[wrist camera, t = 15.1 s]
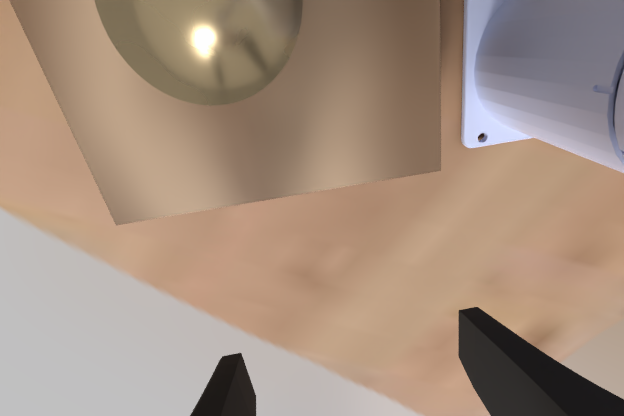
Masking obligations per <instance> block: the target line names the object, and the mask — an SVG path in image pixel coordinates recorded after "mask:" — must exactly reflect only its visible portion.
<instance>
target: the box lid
mask: <svg viewBox="0 0 624 416" xmlns="http://www.w3.org/2000/svg"><path fill="white" fill-rule="evenodd" d="M10 2H11V4H12V7H13V9H14V11H15V13H16V15H17V17H18V19H19V21H20V23H21V26H22V28H23V30H24V32H25V34H26V36H27V38H28V40H29V42H30V45H31V47H32V49H33V51H34V53H35V55H36V57H37V59H38V61H39V64H40V66H41V68H42V70H43V72H44V74H45V76H46V78H47V80H48V83H49V85H50V87H51V89H52V91H53V93H54V95H55V97H56V99H57V102H58V104H59V106H60V108H61V110H62V112H63V114H64V116H65V118H66V121H67V123H68V125H69V127H70V129H71V131H72V133H73V135H74V137H75V140H76V142H77V144H78V146H79V148H80V150H81V152H82V154H83V156H84V159H85V161H86V163H87V165H88V167H89V169H90V171H91V173H92V175H93V178H94V180H95V182H96V184H97V186H98V188H99V190H100V192H101V194H102V196H103V199H104V201H105V203H106V205H107V207H108V209H109V211H110V213H111V215H112V218H113V220H114V222H115V224H116V225H121V224H127V223H133V222H139V221H145V220H151V219H157V218H163V217H169V216H175V215H181V214H186V213H192V212H198V211H204V210H210V209H216V208H222V207H228V206H234V205H240V204H246V203H252V202H258V201H264V200H270V199H276V198H282V197H287V196H293V195H299V194H305V193H311V192H317V191H323V190H329V189H335V188H341V187H347V186H353V185H359V184H365V183H371V182H377V181H383V180H388V179H394V178H400V177H406V176H412V175H418V174H424V173H430V172H436V171H441V79H440V0H303V9H302V20H301V26H300V30H299V35H298V38H297V41H296V44H295V47H294V50H293V52H292V54H291V56H290V58H289V60H288V62H287V63H286V65H285V66H284V68H283V69H282V71H281V72H280V73H279V74H278V75H277V77H276V78H275V79H274V80H273V81H272V82H271V83H270V84H269V85H267V86H266V87H265V88H264V89H262V90H261V91H259V92H258V93H256V94H255V95H253V96H251V97H249V98H246V99H244V100H242V101H238V102H235V103H232V104H225V105H211V106H207V105H199V104H193V103H189V102H185V101H182V100H179V99H176V98H174V97H171V96H169V95H167V94H165V93H163V92H161V91H159V90H158V89H156V88H155V87H153V86H152V85H150V84H149V83H148V82H146V81H145V80H144V79H143V78H142V77H140V76H139V75H138V74H137V73H136V72H135V71H134V70H133V69H132V68H131V67H130V66H129V65H128V64H127V63H126V61H125V60H124V59H123V58H122V56H121V55H120V54H119V52H118V51H117V50H116V48H115V46H114V45H113V43H112V42H111V40H110V38H109V37H108V35H107V32H106V30H105V28H104V26H103V24H102V22H101V19H100V16H99V14H98V11H97V8H96V4H95V0H10Z"/></svg>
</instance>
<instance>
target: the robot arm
mask: <svg viewBox="0 0 624 416" xmlns="http://www.w3.org/2000/svg"><path fill="white" fill-rule="evenodd" d="M481 133H484V137H483V139H482V140H480V141H478V136H479V135H480V134H481ZM529 138H536V139H539V140H541V141H544V142H547V143H549V144H552V145H554V146H557V147H559V148H562V149H564V150H567V151H569V152H572V153H574V154H577V155H579V156H582V157H584V158H587V159H590V160H592V161H595V162H597V163H600V164H602V165H605V166H607V167H610V168H612V169H615V170H617V171H620V172H622V173H624V0H464V33H463V80H462V128H461V141H462V143H463V145H464V146H466V147H468V148H476V147H482V146H487V145H493V144H499V143H505V142H511V141H517V140H523V139H529ZM459 358H460V360H461V363H462V365H463V367H464V369H465V371H466V373H467V375H468V377H469V379H470V381H471V383H472V385H473V387H474V389H475V391H476V392H477V394H478V396H479V397H480V399H481V400H482V402H483V404H484V405H485V407H486V408H487V410H488V412H489V413H490V415H491V416H624V400H623V399H622V398H620V397H618V396H616V395H614V394H612V393H611V392H609V391H607V390H605V389H603V388H601V387H599V386H598V385H596V384H594V383H592V382H591V381H589V380H587V379H585V378H584V377H582V376H580V375H578V374H577V373H575V372H573V371H572V370H570V369H569V368H567V367H565V366H564V365H562V364H560V363H559V362H557V361H556V360H554V359H553V358H551V357H549V356H548V355H546V354H545V353H543V352H542V351H540V350H539V349H537V348H536V347H534V346H533V345H531V344H530V343H528V342H527V341H525V340H524V339H522V338H521V337H519V336H518V335H517V334H515V333H514V332H512V331H511V330H509V329H508V328H506V327H505V326H504V325H502V324H501V323H499V322H498V321H497V320H495V319H494V318H492V317H491V316H489V315H488V314H487V313H485V312H484V311H482V310H481V309H480V308H478V307H474V308H469V309H464V310H459ZM190 416H256V395H255V392H254V389H253V386H252V383H251V380H250V377H249V375H248V372H247V369H246V366H245V363H244V360H243V357H242V354H241V353H238V354H233V355H228V356H223V357H222V358H221V359H220V361H219V363H218V365H217V367H216V369H215V371H214V373H213V375H212V377H211V379H210V381H209V382H208V384H207V387H206V388H205V390H204V392H203V394H202V396H201V397H200V399H199V401H198V403H197V405H196V406H195V408H194V410H193V412H192V414H191V415H190Z"/></svg>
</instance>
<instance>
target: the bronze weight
mask: <svg viewBox="0 0 624 416" xmlns="http://www.w3.org/2000/svg"><path fill="white" fill-rule="evenodd" d="M95 4H96V8H97V11H98V14H99V16H100V19H101V22H102V24H103V26H104V28H105V30H106V32H107V35H108V37H109V38H110V40H111V42H112V43H113V45H114V46H115V48H116V50H117V51H118V52H119V54H120V55H121V56H122V58H123V59H124V60H125V61H126V63H127V64H128V65H129V66H130V67H131V68H132V69H133V70H134V71H135V72H136V73H137V74H138V75H139V76H140V77H142V78H143V79H144V80H145V81H146V82H148V83H149V84H150V85H152V86H153V87H155V88H156V89H158V90H159V91H161V92H163V93H165V94H167V95H169V96H171V97H174V98H176V99H179V100H182V101H185V102H189V103H193V104H199V105H207V106H211V105H225V104H232V103H235V102H238V101H242V100H244V99H246V98H249V97H251V96H253V95H255V94H256V93H258V92H259V91H261V90H262V89H264V88H265V87H266V86H267V85H269V84H270V83H271V82H272V81H273V80H274V79H275V78H276V77H277V75H278V74H279V73H280V72H281V71H282V69H283V68H284V66H285V65H286V63H287V62H288V60H289V58H290V56H291V54H292V52H293V50H294V47H295V44H296V41H297V38H298V35H299V30H300V26H301V20H302V9H303V0H95Z"/></svg>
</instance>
